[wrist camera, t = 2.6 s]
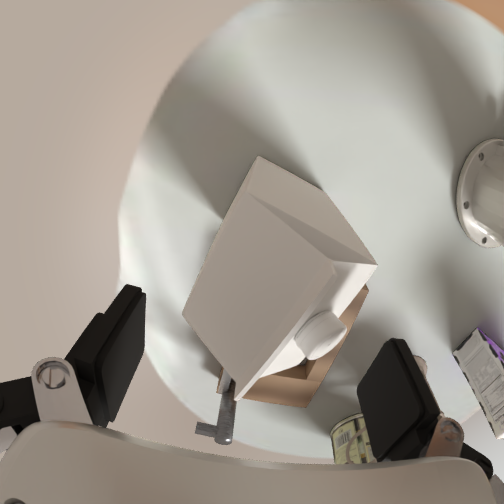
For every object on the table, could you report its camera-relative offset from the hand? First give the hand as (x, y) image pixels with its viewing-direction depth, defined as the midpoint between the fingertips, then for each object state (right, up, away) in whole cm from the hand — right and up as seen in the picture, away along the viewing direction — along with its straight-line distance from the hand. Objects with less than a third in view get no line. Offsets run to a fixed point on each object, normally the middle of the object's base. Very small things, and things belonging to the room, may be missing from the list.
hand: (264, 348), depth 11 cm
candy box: (+36, -12, +24) cm, 45 cm away
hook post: (-4, -12, +24) cm, 27 cm away
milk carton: (+2, +8, +17) cm, 19 cm away
